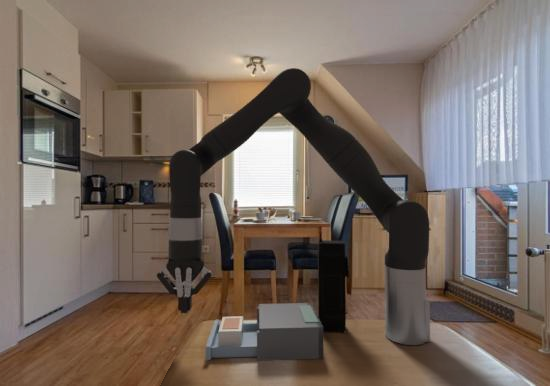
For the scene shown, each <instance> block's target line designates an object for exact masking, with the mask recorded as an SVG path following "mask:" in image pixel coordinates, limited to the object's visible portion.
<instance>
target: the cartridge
mask: <svg viewBox="0 0 550 386" xmlns="http://www.w3.org/2000/svg"><path fill="white" fill-rule="evenodd" d="M243 323H244V316H243V315H242V316H241V315H240V316H235V315H234V316H222V319H221V322H220V324H221V325H220V328H219V331H218V346H242V339H243Z"/></svg>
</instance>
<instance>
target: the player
mask: <svg viewBox="0 0 550 386" xmlns="http://www.w3.org/2000/svg"><path fill="white" fill-rule="evenodd" d="M256 323H259V331H257V356H256V361H281V360H282V361H284V360H285V361H287V360H319V359H320V360H322V359H324V332H323V326H322V324H321V322H320V320H319V318H318V313H316V311H315V308H314V307H313V304H312V302H297V303H296V302H293V303H292V302H291V303H259V304H258V306H257V307H256Z"/></svg>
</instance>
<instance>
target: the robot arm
mask: <svg viewBox="0 0 550 386" xmlns="http://www.w3.org/2000/svg"><path fill="white" fill-rule="evenodd" d="M311 90H312V83H311V79H310V76H309V75H308V74H307V73H306V71H303V70H302V69H300V68H297V67H289V68H286V69H284V70H282V71H281V72H279V73H278V75H276V76H275V78H273V79H272V80H271V81H270V82H269V84H267V85H266V87H264V88H263V89H262V90H261V91H260V92H259V93H258V94H257V95H256V96H255V97H253V98H252V99H251V100H250V101H248V102H247V103H246V104H245V105H244V106H243V107H241V108H240V109H239V110H237V111H236V112H234V113H233V114H232V115H231V116H229V117H227V118H226V119H225V120H223V121H222V122H221V123H219V124H218V125H216V126H215V127H214V128H212V129H211V130H210V131H208V132H206V134H204V135H203V137H202V138H201V139H200V141H198V142H197V143H195V144H194V145H193V146H192V147H190V148H189V149H180V150H178V151H176V152H174V154H173V155H172V156H171V157H170V160H169V162H168V163H169V164H168V174H169V175H168V177H169V188H170V203H169V204H170V205H169V207H170V209H169V210H170V212H169V214H170V215H169V226H168V233H167V234H168V260H167V262H166V264H165V268H164V269H162V270H160V271H159V272H157V274H156V278H157V279H158V280H159V281H160V283H161V284H162V285H163V286H164V288H165V289H166V290H167V292H168V293H169V294H170V295H175V296H177V309H178V311H180V314H188V313H189V312H190V311H191V309H192V307H193V303H192V302H193V296H194V295H198V293H200V291H201V290H202V288H203V287H204V286H205V284H206V283H207V282H208V281H209V280H210V278H212V276H213V270H211V269H208V268H206V267H205V263H204V261H203V223H202V197H201V179H202V177H201V176H203V175H204V174H205V173H206V172H208V171H209V170H210V169H211V168H212V167H213V166H215V165H216V164H217V163H219V161H221V160H223V159H225V158H226V157H228V156H229V155H230V154H231V153H233V152H235V151H236V150H237V149H239V148H240V147H241V146H242V145H243V144H245V143H246V142H247V141H248V140H249V139H250V138H251V137H252V136H253V135H254V134H256V132H257V131H258V130H260V128H261V127H262V126H264V124H265V123H267V122H268V121H269V120H270V119H272V118H273V117H274V116H276V115H277V114H280V115H281V116H282V117H284V118H285V119H286V120H287V121H288V122H289V123H290V124H291V125H292V126H293V127H294V128H295V129H297V130H298V131H299V132H300V133H301V134H302V136H303V137H304V138H305V139H306V140H307V142H309V144H310V145H311V146H312V147H313V149H314V150H315V151H316V152H317V153H318V154H319V156H320V157H321V158H322V159H323V161H325V162H326V164H328V166H329V167H330V168H331V170H332V171H334V172H335V174H336V175H337V176H338V177H339V178H340V179H341V181H343V182H344V183H345V184H346V185H347V186H348V187H349V188H350V189H351V190H352V192H354V193H355V194H356V195H357V196H358V197H360V199H362V201H363V202H364V203H365V204H366V206H368V208H369V209H370V212H372V214H373V215H374V216H375V218H376V219H377V221H378V222H379V223H380V225H381V226H382V228H383V229H384V230H385V231H386V232H387V233H388V239H389V240H388V250H387V252H386V253H385V254H384V296H385V297H384V307H385V309H384V313H385V314H384V315H385V316H384V317H385V318H384V319H385V320H384V321H385V323H384V326H385V327H384V329H385V336H386V338H388V339H389V340H390V341H392V342H394V343H398V344H401V345H406V346H419V345H423V344H426V343H429V342H430V343H431V309H430V308H431V306H430V305H431V303H430V301H429V300H428V299H427V294H426V293H427V292H426V291H427V289H426V287H427V286H426V283H427V281H426V276H427V275H426V264H427V263H426V262H427V259H428V257H429V251H430V218H429V214H428V212H427V210H426V208H425V207H424V206H423V205H422V204H420V203H419V202H416V201H415V200H405V199H403V198H402V197H400V195H398V193H396V192H395V190H393V189H392V188H391V187H390V186H389V185H388V184H387V182H386V181H385V180H384V178H383V177H382V175H381V172H380V171H379V169H378V167H377V165H376V163H375V161H374V160H373V158H372V156H371V155H370V153H369V152H368V151H367V149H366V148H365V147H364V146H363V145H362V144H361V143H360V142H359V140H358V139H357V138H356V137H355V136H354V135H353V134H351V133H350V132H349V131H348V130H346V129H344V127H342V126H340V125H338V124H336V123H335V122H333V121H330V120H329V119H327V118H326V117H324V116H323V115H322V114H321V112H319V110H317V108H316V107H315V106H314V105H313V103H312V102H311V101H310V99H309V97H310V95H311ZM200 273H201V275H200V277H201V280H200V281H199V282H198V283H197V284H196V286H195V287H194V281H196V278H197V277H198V276H199V274H200ZM170 275H171V277H172V278H173V279H174V281H175V283H174V281H173V280H172V279H171V278H170Z"/></svg>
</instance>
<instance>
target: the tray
mask: <svg viewBox="0 0 550 386" xmlns="http://www.w3.org/2000/svg"><path fill="white" fill-rule="evenodd" d="M220 325H221V323H220V319H214V322H213V325H212V327H211V330H210V334H209V336H208V339H207V342H206V344H205V361H211V359H212V358H216V359H217V358H219V359H220V358H241V357H242V358H243V357H244V358H246V357H247V358H249V357H252V358H253V357H257V331H259V323H257V322H243V339H242V346H218V331H219V328H220Z"/></svg>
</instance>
